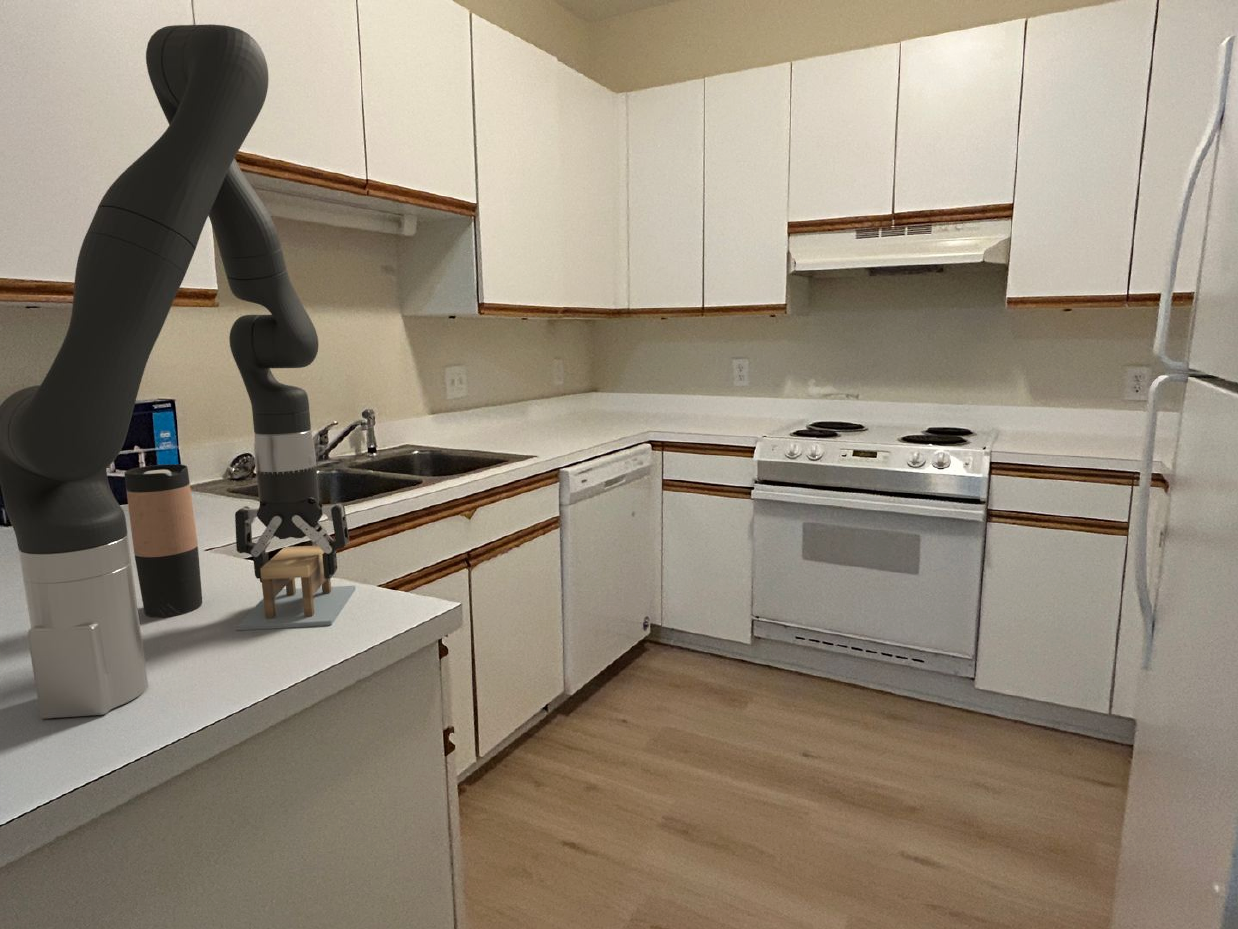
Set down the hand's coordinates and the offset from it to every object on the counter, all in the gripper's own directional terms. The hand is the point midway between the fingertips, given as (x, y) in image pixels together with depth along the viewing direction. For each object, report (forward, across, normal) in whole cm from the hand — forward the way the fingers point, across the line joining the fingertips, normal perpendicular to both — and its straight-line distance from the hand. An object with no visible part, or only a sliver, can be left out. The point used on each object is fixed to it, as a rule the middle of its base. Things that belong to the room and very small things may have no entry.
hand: (297, 579), depth 106 cm
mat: (+4, 0, 0) cm, 4 cm away
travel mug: (+4, +18, -3) cm, 19 cm away
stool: (+4, 0, 0) cm, 4 cm away
